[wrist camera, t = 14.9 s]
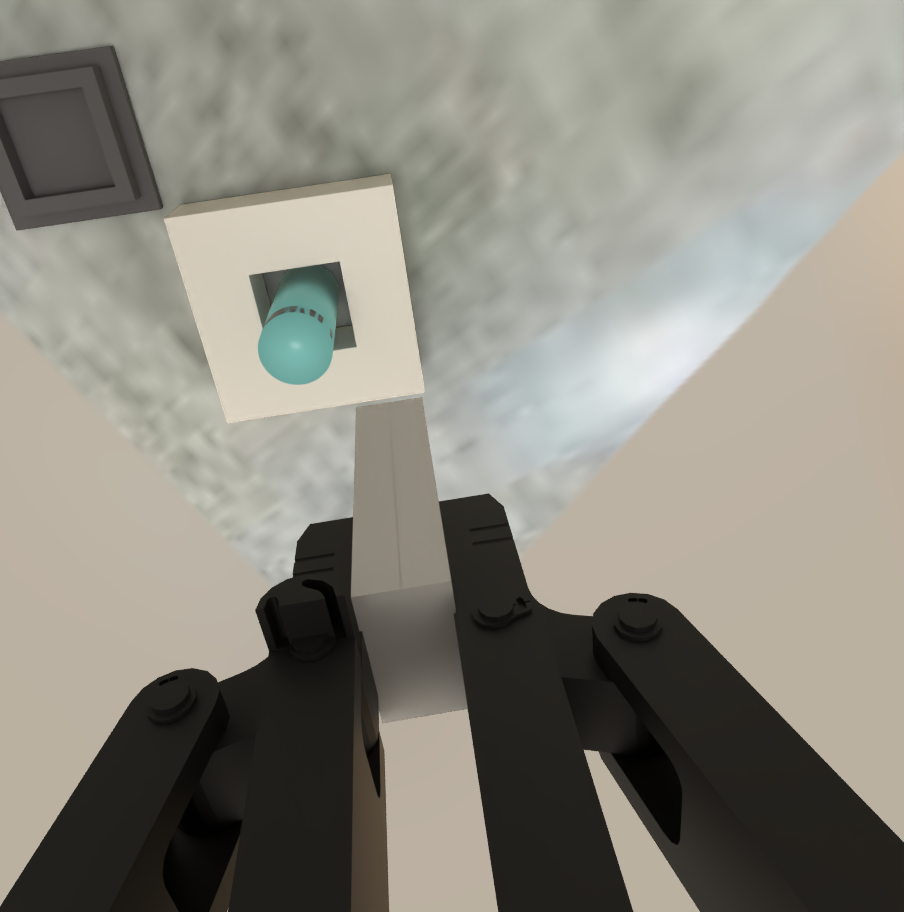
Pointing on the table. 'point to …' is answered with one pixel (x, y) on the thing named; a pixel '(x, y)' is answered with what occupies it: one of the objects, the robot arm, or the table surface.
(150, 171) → the grey square socket
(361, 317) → the port
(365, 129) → the table surface
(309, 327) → the plug
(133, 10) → the table surface
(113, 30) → the table surface
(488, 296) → the table surface
